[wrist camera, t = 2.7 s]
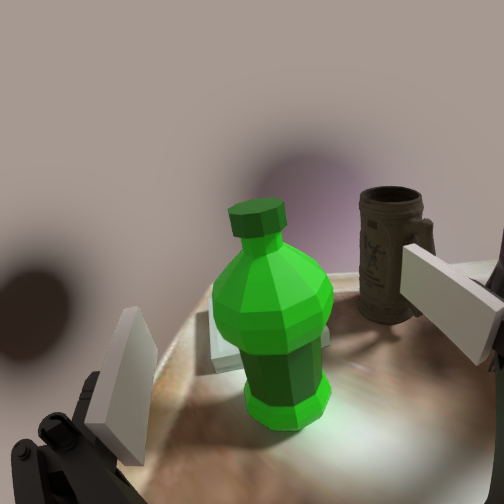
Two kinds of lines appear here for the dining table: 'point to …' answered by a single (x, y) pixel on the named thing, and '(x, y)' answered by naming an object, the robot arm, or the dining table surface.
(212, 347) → the tray
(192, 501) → the dining table surface
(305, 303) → the plastic bottle
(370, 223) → the beer stein
